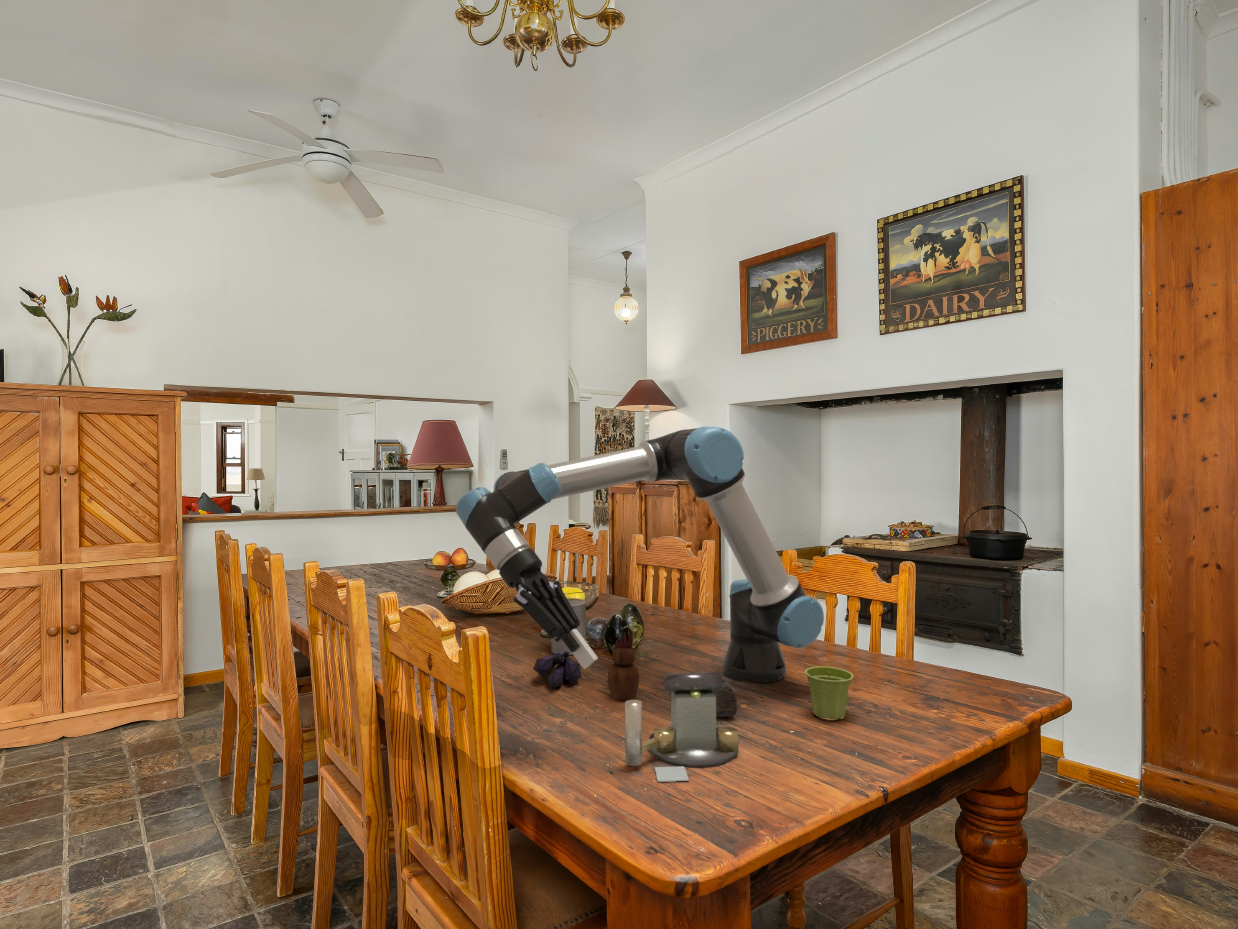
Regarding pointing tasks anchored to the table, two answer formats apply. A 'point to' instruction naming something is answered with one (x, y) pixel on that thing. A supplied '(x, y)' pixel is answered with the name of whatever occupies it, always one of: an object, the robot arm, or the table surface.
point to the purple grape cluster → (558, 669)
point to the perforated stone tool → (726, 700)
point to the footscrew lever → (633, 735)
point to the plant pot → (829, 690)
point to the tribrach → (697, 722)
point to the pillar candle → (580, 611)
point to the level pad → (671, 774)
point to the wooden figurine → (623, 671)
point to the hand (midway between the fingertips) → (591, 663)
